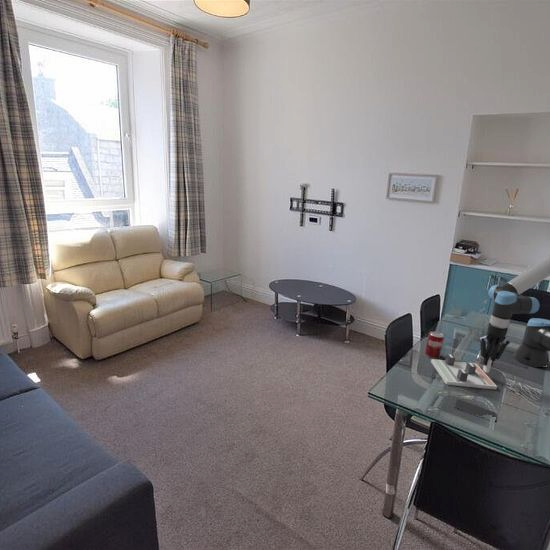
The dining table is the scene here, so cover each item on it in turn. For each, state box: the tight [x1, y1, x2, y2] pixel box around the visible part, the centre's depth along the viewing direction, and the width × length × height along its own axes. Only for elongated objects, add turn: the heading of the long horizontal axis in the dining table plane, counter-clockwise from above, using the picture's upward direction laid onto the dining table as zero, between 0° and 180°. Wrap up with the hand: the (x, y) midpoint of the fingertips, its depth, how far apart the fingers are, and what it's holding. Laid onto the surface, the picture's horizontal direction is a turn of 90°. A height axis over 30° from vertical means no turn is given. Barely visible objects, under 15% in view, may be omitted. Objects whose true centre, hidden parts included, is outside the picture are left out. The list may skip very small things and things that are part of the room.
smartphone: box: [453, 398, 497, 418], centre depth 148 cm, size 7×1×15 cm
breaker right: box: [457, 369, 468, 381], centre depth 167 cm, size 3×3×4 cm
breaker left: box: [445, 353, 456, 365], centre depth 180 cm, size 3×3×4 cm
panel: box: [430, 358, 498, 390], centre depth 174 cm, size 22×20×2 cm
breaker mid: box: [465, 362, 476, 375], centre depth 173 cm, size 3×3×4 cm
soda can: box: [424, 331, 445, 360], centre depth 189 cm, size 7×7×12 cm
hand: (485, 371), depth 173 cm, fingers closed
